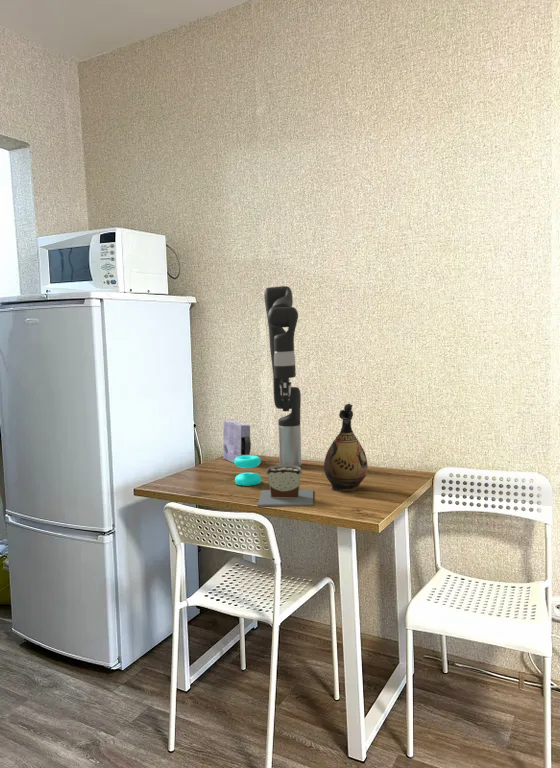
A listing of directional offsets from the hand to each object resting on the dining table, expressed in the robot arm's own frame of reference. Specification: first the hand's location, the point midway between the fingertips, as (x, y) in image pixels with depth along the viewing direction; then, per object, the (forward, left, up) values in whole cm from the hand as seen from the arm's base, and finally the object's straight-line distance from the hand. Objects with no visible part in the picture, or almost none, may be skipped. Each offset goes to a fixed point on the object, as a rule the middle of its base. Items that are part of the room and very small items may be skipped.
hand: (286, 409), depth 216 cm
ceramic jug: (+1, +21, -29) cm, 35 cm away
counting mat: (+14, 0, -29) cm, 32 cm away
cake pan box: (-47, -24, -29) cm, 60 cm away
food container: (+12, 0, -28) cm, 31 cm away
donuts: (-8, -15, -29) cm, 34 cm away
